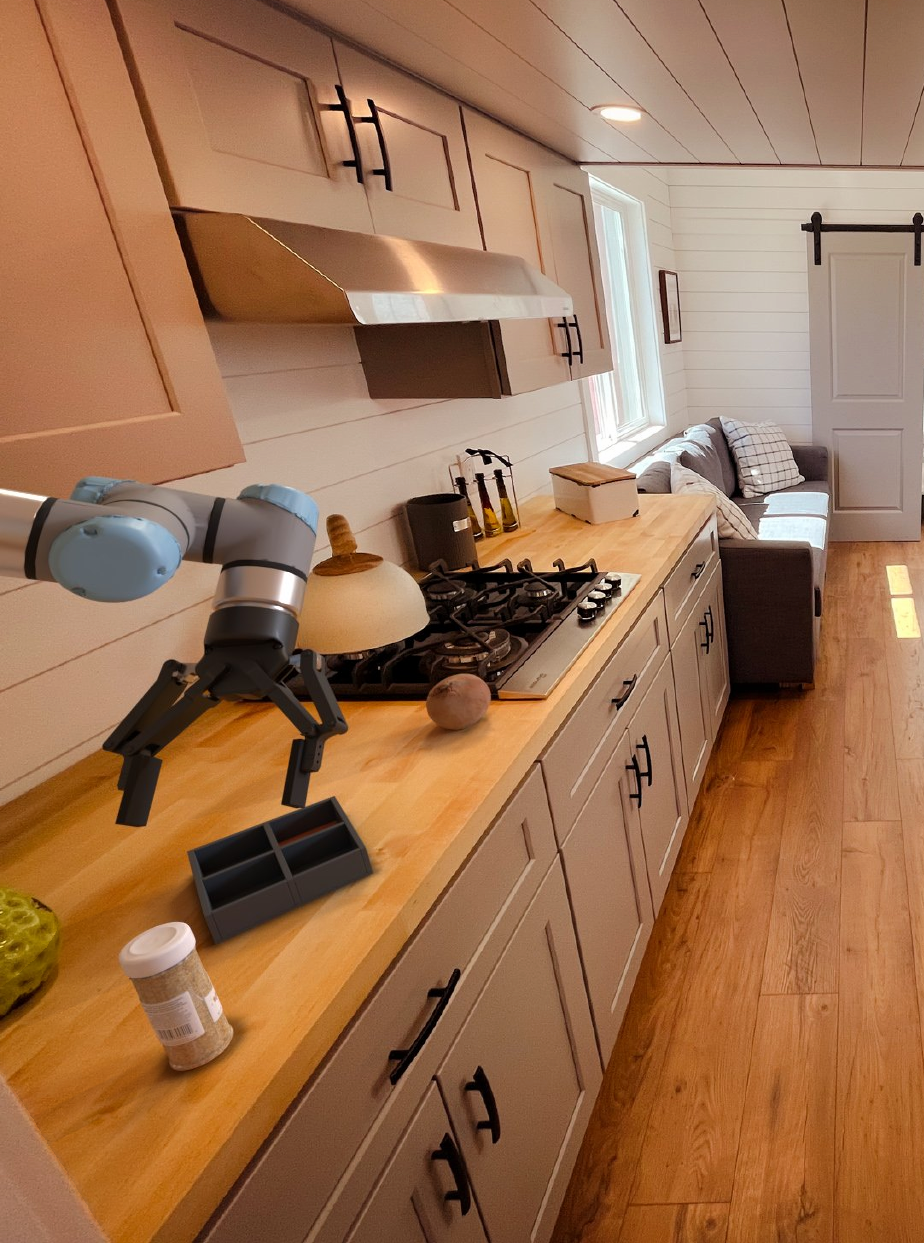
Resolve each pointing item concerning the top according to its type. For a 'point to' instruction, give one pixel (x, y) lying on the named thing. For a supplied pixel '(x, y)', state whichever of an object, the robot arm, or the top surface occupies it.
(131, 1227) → the top surface
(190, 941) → the spice jar
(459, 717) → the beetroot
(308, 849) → the grid
